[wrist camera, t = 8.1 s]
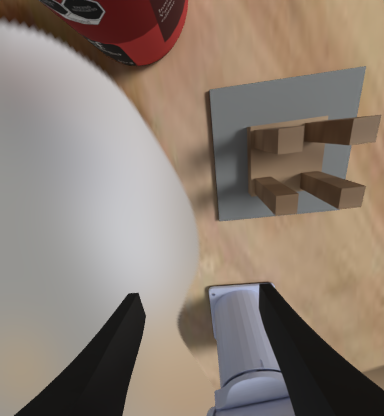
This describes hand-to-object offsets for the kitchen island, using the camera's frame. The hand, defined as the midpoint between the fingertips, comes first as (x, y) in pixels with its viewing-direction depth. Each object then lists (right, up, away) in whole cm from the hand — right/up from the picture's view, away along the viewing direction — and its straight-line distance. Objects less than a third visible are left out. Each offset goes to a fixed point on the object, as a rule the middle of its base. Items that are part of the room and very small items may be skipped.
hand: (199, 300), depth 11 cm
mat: (+8, +10, +6) cm, 14 cm away
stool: (+8, +10, +6) cm, 14 cm away
